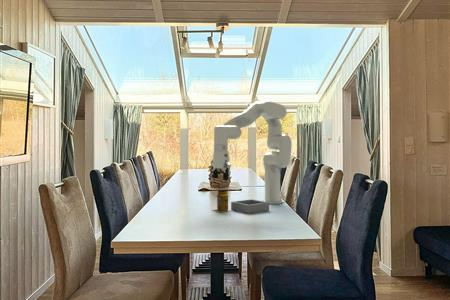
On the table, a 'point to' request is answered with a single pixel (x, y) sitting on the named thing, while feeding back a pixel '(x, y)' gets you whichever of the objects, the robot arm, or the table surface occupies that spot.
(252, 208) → the box
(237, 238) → the table surface
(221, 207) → the condiment
